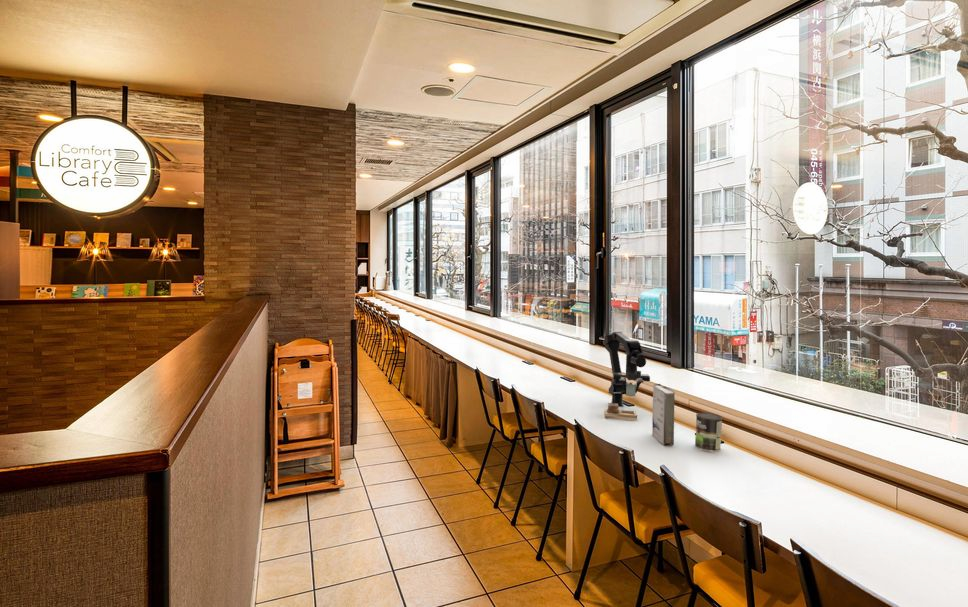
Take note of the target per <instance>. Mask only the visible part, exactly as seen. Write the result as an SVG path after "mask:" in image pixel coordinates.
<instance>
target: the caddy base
mask: <svg viewBox="0 0 968 607" xmlns="http://www.w3.org/2000/svg"><path fill="white" fill-rule="evenodd" d="M603 410H604V411H603V413H604V419H610V418H612V419H613V420H624V419H625V420H626V421H627V420H629V421H638V413H637V411H636V410H627V409H625V410H624V409H618V414H614V413H608V408H604V409H603Z"/></svg>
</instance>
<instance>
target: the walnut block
mask: <svg viewBox="0 0 968 607" xmlns="http://www.w3.org/2000/svg"><path fill="white" fill-rule="evenodd" d="M607 409H608V413H614V414H618V410H619V406H618V404H616V403H611V402H608V403H607Z"/></svg>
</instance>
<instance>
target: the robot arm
mask: <svg viewBox="0 0 968 607" xmlns="http://www.w3.org/2000/svg"><path fill="white" fill-rule="evenodd" d="M603 344H604V346H605V350H606V351H607V353H609V360H610V367H611V373H612V380H611V381H610V386H609V387H608V394H610V395H611V401H610V403H616V404H618V407H624V403H623V395H626V383H627V380H628V381H636V383H635V384H636V394H637V393H638V390H639V388H640V386H641V384H642V383H644V382H651V376H650V375H649V374H648V373H642V370H638V368H643V367H645V366H646V364H647V360H646V358H645V356H644V355H643V354H644V353H643V351H644V350H643V348H642V345H641V343H640V341H639V340H637V339H633V338H630V337H628V336H627V335H625V334H624V333H623V332H622V331H612V333H610V334H609V335H606V337H605V338H604V340H603ZM621 345H622V346H623V349H624V350H625V353H624V354H625V355H626V358H625V360H626V361H625V374H623V373H622V370H621V362H620V357H619V356H620V355H619V352H618V351H619V350H620V348H621ZM622 403H623V404H622Z"/></svg>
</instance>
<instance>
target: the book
mask: <svg viewBox="0 0 968 607" xmlns="http://www.w3.org/2000/svg"><path fill="white" fill-rule="evenodd" d="M652 388H653V389H652V429H651V430H652V431H651V432H652V433H651V435H652V436H653V437H654V438H655V439H656V441H658V442H660V444H662V446H665V445H666V444H671V445H672V446H674V444H675V400H676V398H675V391H674V390H673V389H672V388H669V387H667V386H665V385H664V386H663V385H662V384H661V383H656V384H653V387H652Z"/></svg>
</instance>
